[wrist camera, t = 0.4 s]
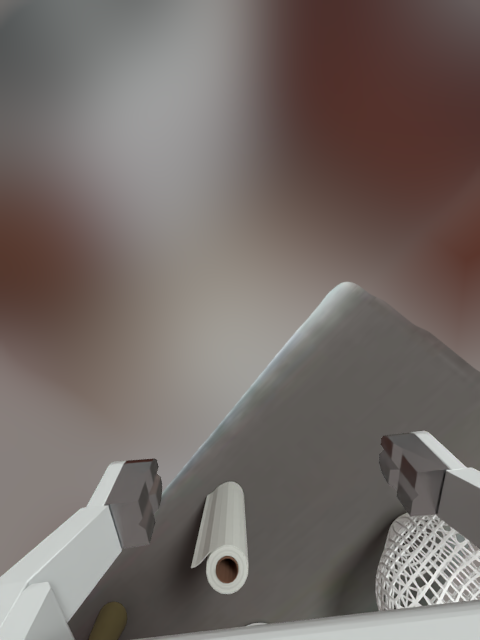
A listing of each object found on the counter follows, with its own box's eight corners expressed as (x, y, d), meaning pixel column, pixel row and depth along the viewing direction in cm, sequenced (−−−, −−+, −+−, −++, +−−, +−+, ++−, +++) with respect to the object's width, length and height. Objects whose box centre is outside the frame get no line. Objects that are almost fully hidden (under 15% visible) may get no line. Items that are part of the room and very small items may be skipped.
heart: (379, 605, 53) (479, 770, 31) (327, 542, 55) (387, 655, 33) (463, 506, 57) (605, 592, 35) (412, 450, 59) (516, 499, 37)
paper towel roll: (249, 492, 57) (257, 565, 36) (232, 516, 56) (230, 606, 35) (224, 471, 58) (217, 530, 37) (207, 494, 57) (190, 569, 36)
